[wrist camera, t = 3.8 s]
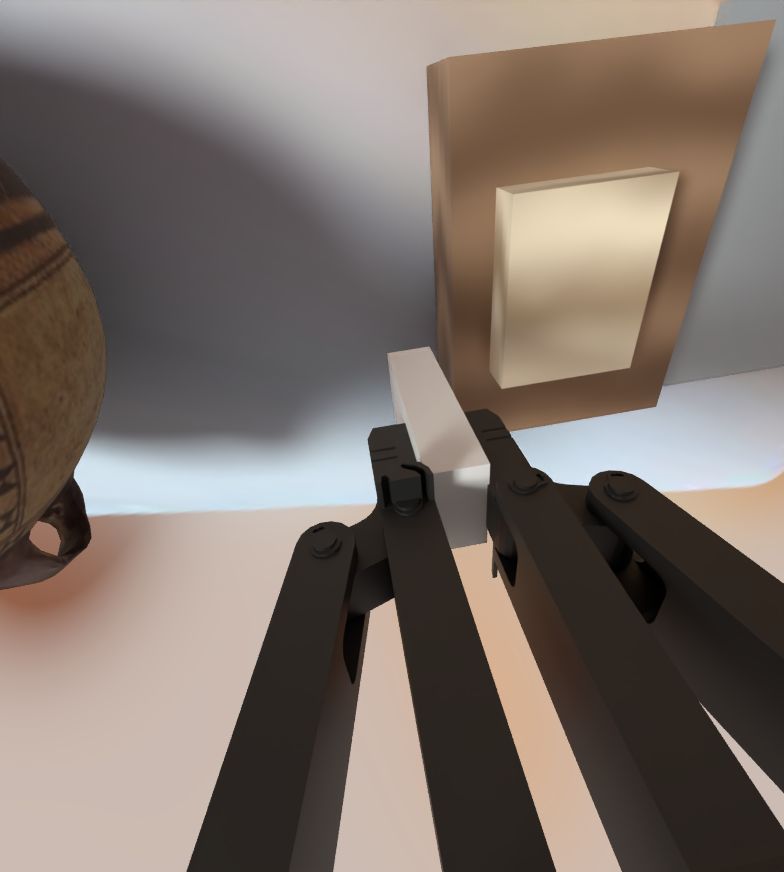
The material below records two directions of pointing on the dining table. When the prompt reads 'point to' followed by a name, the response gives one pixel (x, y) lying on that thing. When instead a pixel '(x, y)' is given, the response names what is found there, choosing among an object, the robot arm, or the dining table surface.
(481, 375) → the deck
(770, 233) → the mat
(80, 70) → the dining table surface
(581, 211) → the tile
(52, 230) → the vase
